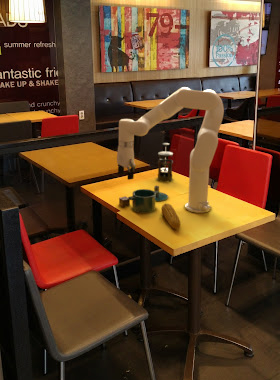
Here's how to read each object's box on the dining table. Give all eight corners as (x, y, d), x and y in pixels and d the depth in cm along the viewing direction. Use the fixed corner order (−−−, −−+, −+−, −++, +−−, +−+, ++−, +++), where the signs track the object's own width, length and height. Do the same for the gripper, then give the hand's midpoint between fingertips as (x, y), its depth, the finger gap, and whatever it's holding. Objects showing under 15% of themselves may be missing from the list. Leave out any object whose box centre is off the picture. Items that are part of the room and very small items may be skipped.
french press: (176, 181, 241) (177, 144, 236) (163, 183, 236) (164, 146, 231) (165, 175, 251) (166, 140, 246) (152, 178, 246) (153, 142, 241)
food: (159, 213, 193) (160, 202, 192) (170, 212, 194) (171, 201, 193) (172, 232, 173) (172, 219, 172) (184, 231, 174) (185, 218, 173)
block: (129, 206, 202) (129, 198, 201) (123, 207, 200) (123, 200, 199) (125, 203, 205) (125, 196, 204) (119, 205, 203) (119, 197, 202)
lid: (172, 199, 211) (173, 187, 210) (153, 204, 205) (153, 192, 203) (159, 192, 221) (159, 181, 220) (140, 196, 215) (140, 185, 213)
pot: (164, 209, 198) (164, 193, 196) (135, 216, 189) (135, 200, 187) (151, 202, 207) (151, 186, 205) (123, 208, 198) (123, 192, 197)
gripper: (111, 140, 203) (111, 172, 206) (128, 148, 188) (127, 182, 192) (124, 139, 207) (123, 170, 210) (141, 146, 192) (140, 180, 196)
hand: (125, 176), depth 201 cm, fingers open, 9 cm apart
